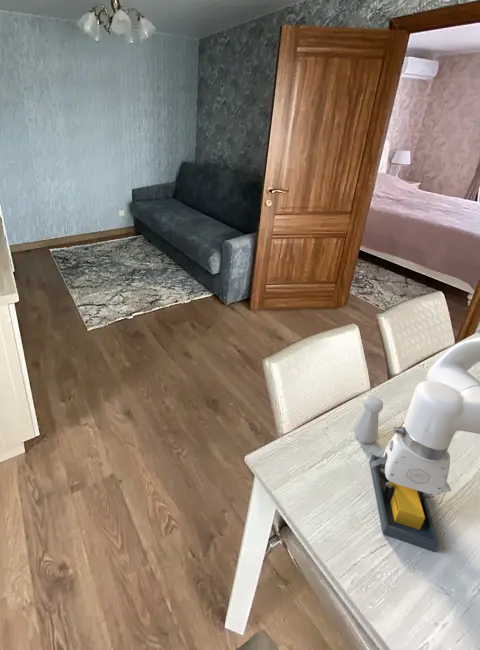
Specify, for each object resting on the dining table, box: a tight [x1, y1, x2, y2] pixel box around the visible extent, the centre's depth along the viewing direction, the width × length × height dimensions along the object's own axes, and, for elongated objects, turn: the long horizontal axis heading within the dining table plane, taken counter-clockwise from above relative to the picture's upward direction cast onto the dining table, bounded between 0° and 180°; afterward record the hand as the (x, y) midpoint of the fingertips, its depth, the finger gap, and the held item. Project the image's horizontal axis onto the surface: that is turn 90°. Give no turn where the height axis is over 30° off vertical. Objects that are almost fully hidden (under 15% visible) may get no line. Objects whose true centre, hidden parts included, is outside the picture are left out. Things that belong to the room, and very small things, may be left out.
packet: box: [390, 484, 425, 530], centre depth 74 cm, size 11×4×4 cm, turn 161°
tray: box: [369, 454, 441, 553], centre depth 75 cm, size 9×16×2 cm, turn 161°
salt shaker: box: [352, 394, 384, 445], centre depth 87 cm, size 6×6×13 cm
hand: (400, 498), depth 75 cm, fingers closed on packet, 4 cm apart
